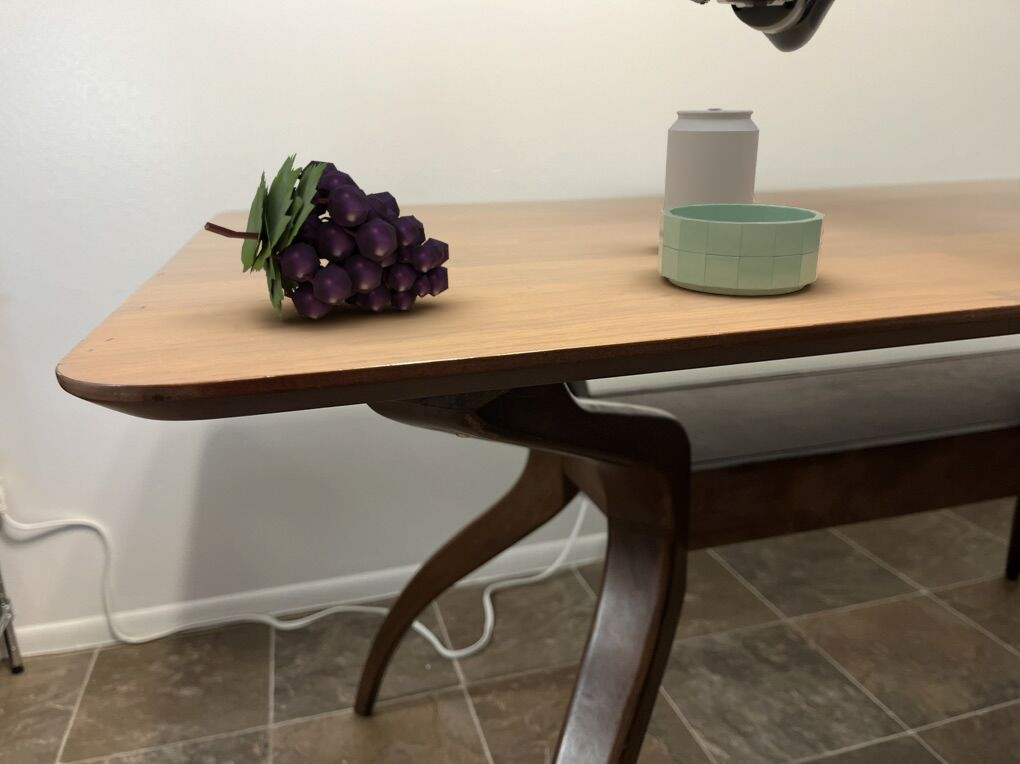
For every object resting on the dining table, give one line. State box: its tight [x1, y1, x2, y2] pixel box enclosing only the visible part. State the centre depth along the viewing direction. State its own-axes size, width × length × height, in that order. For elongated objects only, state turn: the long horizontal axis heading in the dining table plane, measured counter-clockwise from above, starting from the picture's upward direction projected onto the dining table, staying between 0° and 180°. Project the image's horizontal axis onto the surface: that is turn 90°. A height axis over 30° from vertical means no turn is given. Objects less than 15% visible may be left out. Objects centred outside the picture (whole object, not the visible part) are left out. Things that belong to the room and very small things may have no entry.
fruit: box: [203, 152, 450, 321], centre depth 51 cm, size 10×11×15 cm
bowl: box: [657, 203, 826, 297], centre depth 59 cm, size 11×11×5 cm
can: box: [663, 107, 760, 210], centre depth 70 cm, size 8×8×12 cm
